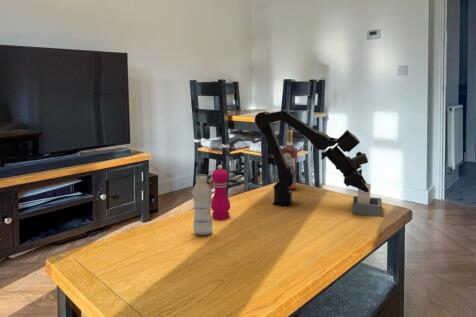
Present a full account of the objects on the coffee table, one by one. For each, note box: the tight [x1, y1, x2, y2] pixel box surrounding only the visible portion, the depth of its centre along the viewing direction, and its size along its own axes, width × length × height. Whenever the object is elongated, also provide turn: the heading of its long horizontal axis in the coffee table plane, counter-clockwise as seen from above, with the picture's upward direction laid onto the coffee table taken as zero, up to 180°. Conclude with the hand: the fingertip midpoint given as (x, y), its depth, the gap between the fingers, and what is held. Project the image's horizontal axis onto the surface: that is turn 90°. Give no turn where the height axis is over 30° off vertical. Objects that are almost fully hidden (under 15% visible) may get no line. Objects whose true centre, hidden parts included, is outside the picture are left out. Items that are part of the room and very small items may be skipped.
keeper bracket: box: [351, 195, 383, 217], centre depth 152 cm, size 10×11×4 cm
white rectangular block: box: [357, 183, 372, 204], centre depth 152 cm, size 4×4×8 cm
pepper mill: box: [210, 164, 231, 221], centre depth 145 cm, size 7×7×20 cm
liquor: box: [281, 129, 298, 191], centre depth 181 cm, size 7×7×28 cm
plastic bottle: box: [191, 173, 214, 236], centre depth 129 cm, size 6×7×20 cm
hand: (368, 189), depth 151 cm, fingers closed on white rectangular block, 4 cm apart
